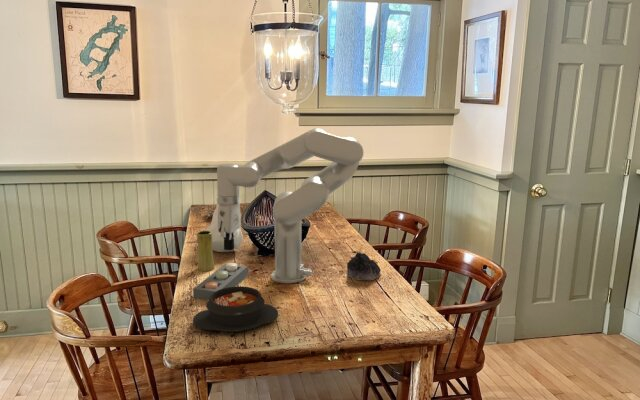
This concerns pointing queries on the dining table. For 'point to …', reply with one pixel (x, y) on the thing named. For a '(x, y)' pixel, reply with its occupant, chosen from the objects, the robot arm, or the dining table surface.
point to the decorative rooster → (216, 235)
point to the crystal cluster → (362, 268)
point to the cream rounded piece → (231, 267)
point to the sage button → (222, 275)
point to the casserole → (235, 310)
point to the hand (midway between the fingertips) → (229, 249)
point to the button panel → (220, 282)
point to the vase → (205, 251)
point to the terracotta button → (211, 285)
